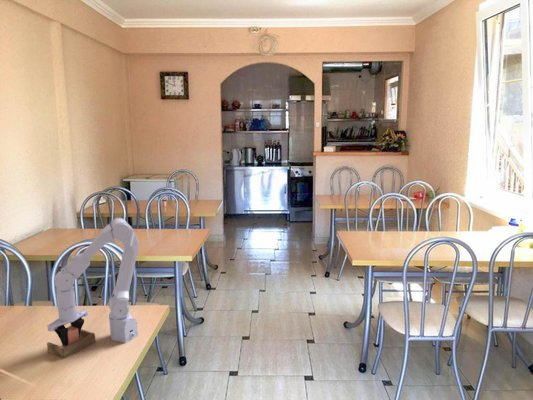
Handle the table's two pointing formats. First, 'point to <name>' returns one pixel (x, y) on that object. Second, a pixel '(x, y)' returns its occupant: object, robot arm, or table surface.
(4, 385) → the table surface
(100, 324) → the table surface
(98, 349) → the table surface
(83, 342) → the box
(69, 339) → the block
